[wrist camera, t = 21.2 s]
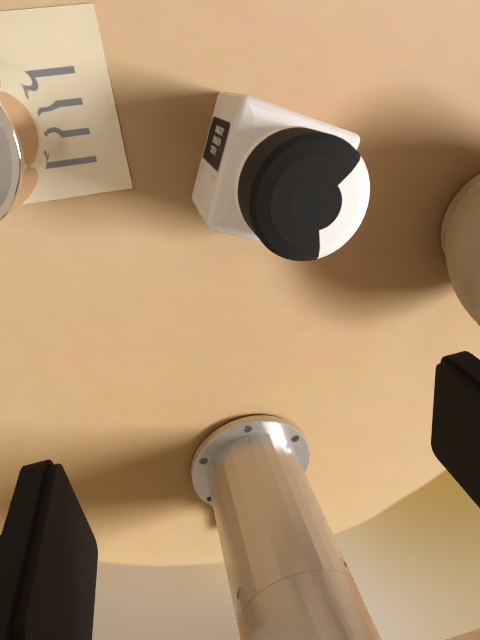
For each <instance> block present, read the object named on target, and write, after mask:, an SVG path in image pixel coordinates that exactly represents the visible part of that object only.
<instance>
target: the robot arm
mask: <svg viewBox="0 0 480 640" xmlns="http://www.w3.org/2000/svg"><path fill="white" fill-rule="evenodd" d="M431 446H432V450H433V452H434V454H435V456H436V457H437V459H438V460H439V461H440V462H441V463H442V465H443V466H444V467H445V468H446V469H447V470H448V472H449V473H450V474H451V475H452V476H453V477H454V479H455V480H456V481H457V482H458V483H459V484H460V486H461V487H462V488H463V489H464V490H465V491H466V493H468V495H469V496H470V497H471V498H472V500H473V501H474V502H475V503H476V504H477V505H478V507H479V508H480V360H479V359H478V358H477V357H475V356H474V355H473V354H471V353H469V352H467V351H463V352H459V353H455V354H452V355H448V356H445V357H443V358H442V359H441V363H440V364H438V365H437V366H436V374H435V389H434V404H433V420H432V435H431ZM309 457H310V453H309V446H308V444H307V442H306V440H305V437H304V436H303V434H302V432H301V431H300V430H299V429H298V428H297V427H296V426H295V425H294V424H292V423H291V422H289V421H287V420H285V419H282V418H279V417H276V416H268V415H256V416H249V417H244V418H240V419H237V420H234V421H231V422H229V423H227V424H225V425H223V426H221V427H220V428H218V429H217V430H215V431H214V432H213V433H211V434H210V435H209V436H208V437H207V438H206V439H205V440H204V441H203V442H202V443H201V445H200V446H199V448H198V449H197V451H196V452H195V455H194V457H193V460H192V464H191V478H192V482H193V487H194V489H195V491H196V493H197V495H198V496H199V497H200V498H201V499H202V500H203V501H204V502H206V503H207V504H209V505H210V506H213V509H214V514H215V519H216V524H217V528H218V533H219V538H220V543H221V548H222V552H223V557H224V562H225V567H226V571H227V576H228V581H229V586H230V591H231V595H232V600H233V605H234V610H235V615H236V620H237V624H238V629H239V633H240V638H241V640H382V639H381V637H380V635H379V633H378V631H377V629H376V627H375V625H374V623H373V620H372V618H371V616H370V614H369V612H368V610H367V608H366V606H365V604H364V602H363V599H362V597H361V595H360V593H359V591H358V589H357V586H356V584H355V582H354V580H353V578H352V575H351V573H350V571H349V569H348V566H347V564H346V562H345V560H344V558H343V556H342V553H341V551H340V549H339V547H338V545H337V542H336V541H335V538H334V536H333V534H332V532H331V529H330V527H329V525H328V523H327V521H326V518H325V516H324V514H323V512H322V510H321V508H320V505H319V503H318V501H317V499H316V497H315V494H314V492H313V490H312V488H311V486H310V484H309V481H308V479H307V477H306V475H305V472H306V470H307V467H308V464H309ZM97 560H98V549H97V543H96V540H95V537H94V535H93V533H92V531H91V528H90V526H89V524H88V522H87V519H86V517H85V515H84V513H83V511H82V508H81V506H80V504H79V502H78V500H77V497H76V495H75V493H74V491H73V489H72V486H71V484H70V482H69V480H68V477H67V475H66V473H65V471H64V469H63V467H62V465H61V464H55V465H54V464H53V462H52V461H51V460H45V461H41V462H37V463H33V464H29V465H26V466H23V467H22V468H21V471H20V473H19V477H18V480H17V484H16V487H15V490H14V494H13V497H12V500H11V504H10V507H9V511H8V514H7V517H6V521H5V524H4V527H3V531H2V534H1V535H0V640H92V630H93V629H92V628H93V616H94V602H95V587H96V573H97ZM447 640H480V629H477V630H474V631H471V632H468V633H465V634H462V635H459V636H456V637H453V638H450V639H447Z"/></svg>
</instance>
